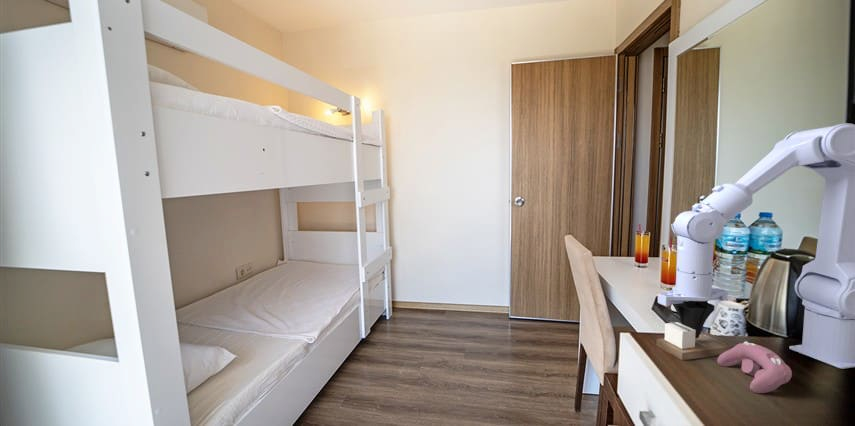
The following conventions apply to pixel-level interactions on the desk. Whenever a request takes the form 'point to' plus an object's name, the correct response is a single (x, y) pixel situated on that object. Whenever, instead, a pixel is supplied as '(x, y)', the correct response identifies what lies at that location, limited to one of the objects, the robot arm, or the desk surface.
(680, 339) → the fader tab
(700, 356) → the fader board
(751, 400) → the desk surface
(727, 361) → the video game controller
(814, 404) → the desk surface
